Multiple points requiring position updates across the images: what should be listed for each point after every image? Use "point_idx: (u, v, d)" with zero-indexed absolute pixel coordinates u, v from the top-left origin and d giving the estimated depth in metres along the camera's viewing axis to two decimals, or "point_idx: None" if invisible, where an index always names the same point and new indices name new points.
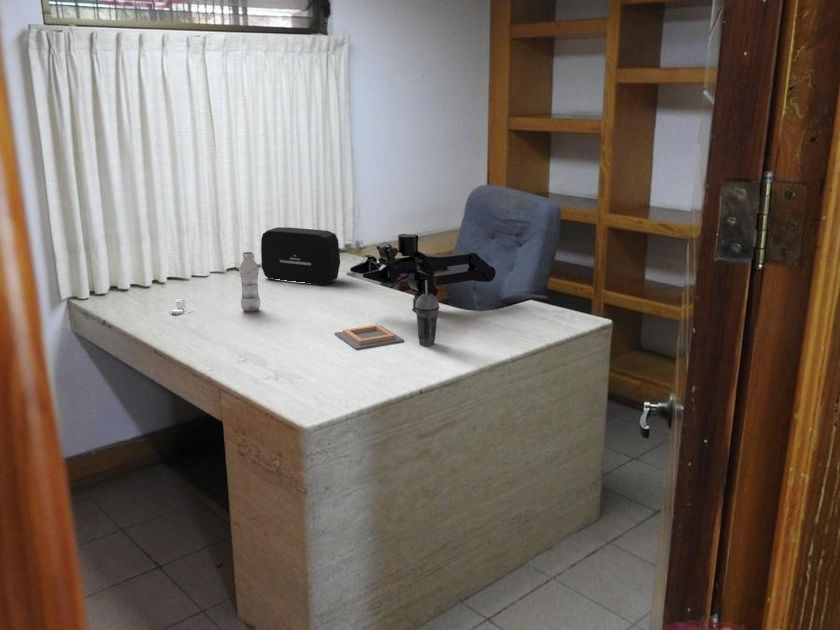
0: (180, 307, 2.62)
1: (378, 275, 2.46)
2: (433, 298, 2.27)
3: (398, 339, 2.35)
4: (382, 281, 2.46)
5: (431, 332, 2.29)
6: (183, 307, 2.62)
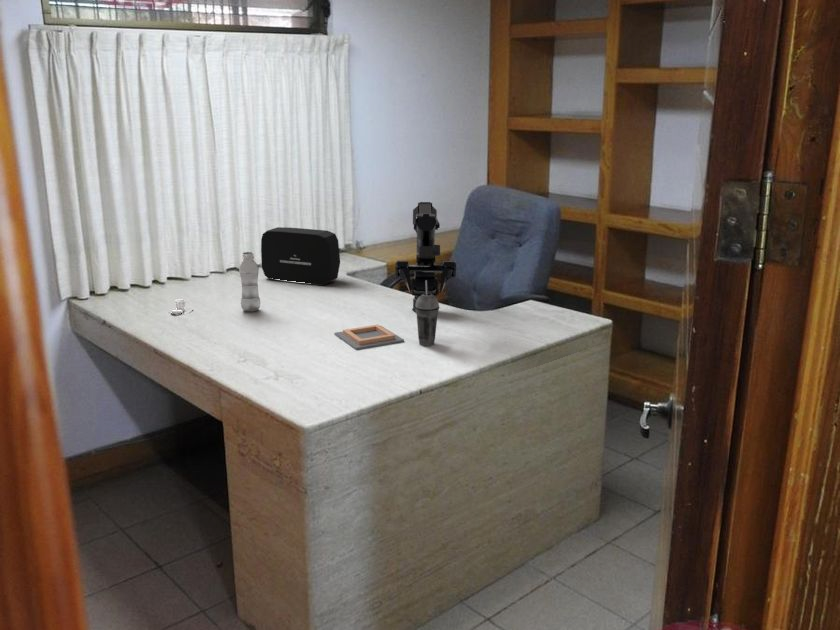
0: (180, 307, 2.62)
1: (444, 279, 2.39)
2: (433, 298, 2.27)
3: (398, 339, 2.35)
4: (446, 280, 2.41)
5: (431, 332, 2.29)
6: (183, 307, 2.62)
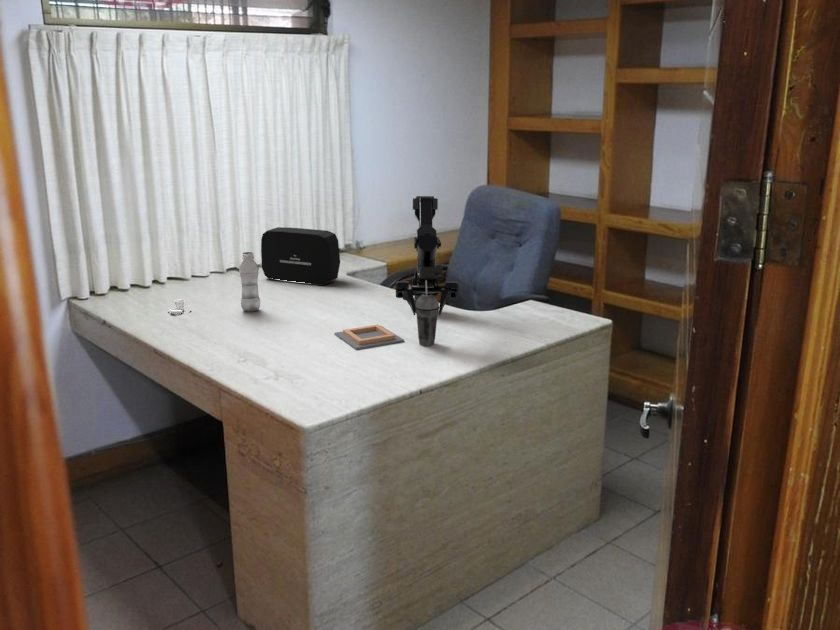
0: (179, 307, 2.62)
1: (443, 300, 2.31)
2: (433, 298, 2.27)
3: (398, 339, 2.35)
4: (445, 301, 2.33)
5: (431, 332, 2.29)
6: (182, 307, 2.62)
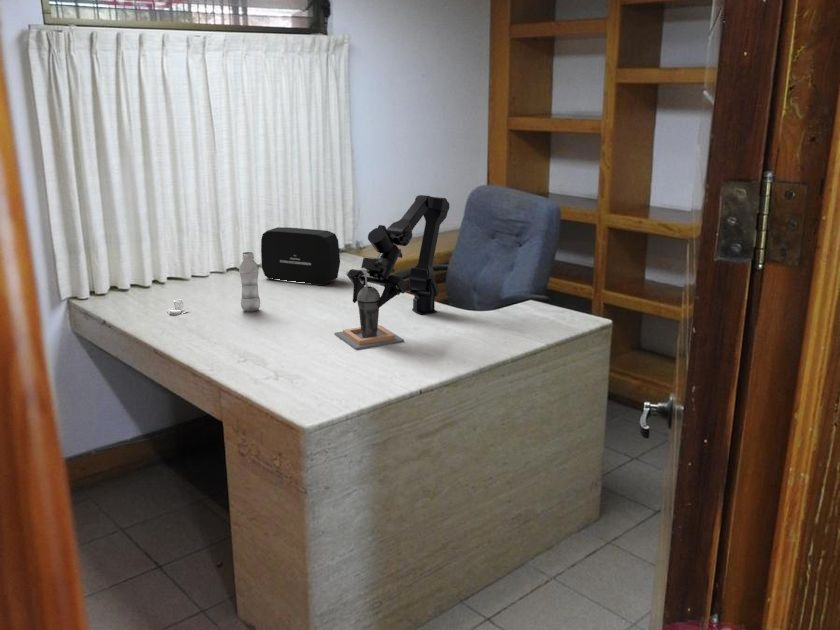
0: (178, 307, 2.62)
1: (388, 294, 2.32)
2: (370, 292, 2.31)
3: (398, 339, 2.35)
4: (394, 295, 2.34)
5: (368, 325, 2.34)
6: (181, 307, 2.62)
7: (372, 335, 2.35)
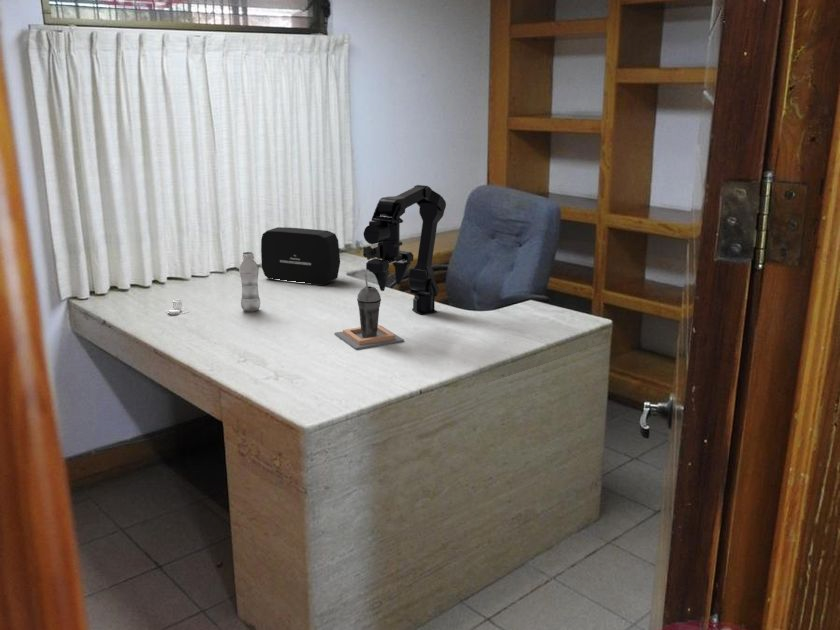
0: (177, 307, 2.62)
1: (381, 276, 2.38)
2: (370, 292, 2.31)
3: (398, 339, 2.35)
4: (384, 274, 2.36)
5: (368, 325, 2.34)
6: (180, 307, 2.62)
7: (372, 335, 2.35)
